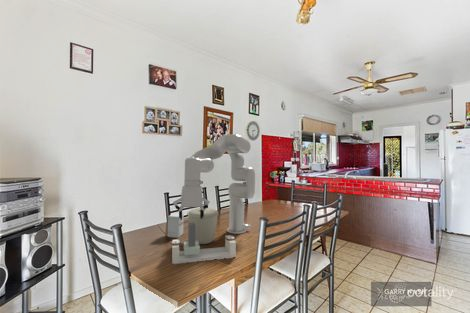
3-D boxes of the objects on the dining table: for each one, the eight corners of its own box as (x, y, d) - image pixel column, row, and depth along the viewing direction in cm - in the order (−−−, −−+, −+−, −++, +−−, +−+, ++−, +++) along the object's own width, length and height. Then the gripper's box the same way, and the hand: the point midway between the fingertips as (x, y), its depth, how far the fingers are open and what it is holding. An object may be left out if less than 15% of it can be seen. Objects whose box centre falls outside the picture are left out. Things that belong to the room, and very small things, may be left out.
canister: (224, 241, 134) (225, 205, 134) (199, 250, 121) (199, 210, 121) (205, 233, 147) (205, 200, 147) (180, 240, 134) (181, 204, 134)
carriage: (197, 246, 118) (198, 220, 118) (199, 253, 109) (200, 226, 109) (183, 247, 116) (184, 221, 116) (184, 255, 107) (185, 227, 107)
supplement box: (178, 238, 138) (178, 217, 138) (167, 237, 140) (167, 216, 140) (183, 234, 145) (183, 213, 145) (172, 233, 147) (173, 213, 147)
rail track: (232, 249, 123) (232, 233, 123) (237, 257, 113) (237, 240, 113) (170, 255, 115) (170, 238, 115) (170, 264, 105) (170, 246, 105)
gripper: (208, 182, 118) (207, 216, 118) (173, 182, 113) (172, 217, 113) (211, 184, 111) (210, 220, 111) (173, 184, 106) (172, 221, 106)
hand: (191, 218), depth 112 cm, fingers open, 9 cm apart
